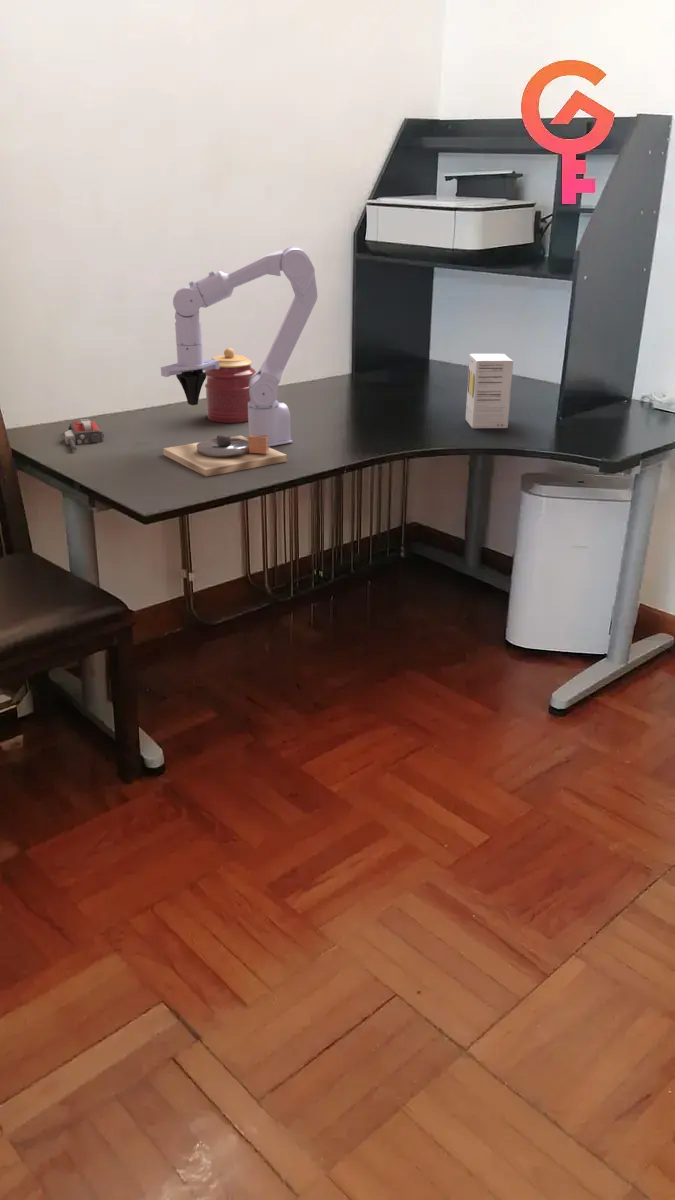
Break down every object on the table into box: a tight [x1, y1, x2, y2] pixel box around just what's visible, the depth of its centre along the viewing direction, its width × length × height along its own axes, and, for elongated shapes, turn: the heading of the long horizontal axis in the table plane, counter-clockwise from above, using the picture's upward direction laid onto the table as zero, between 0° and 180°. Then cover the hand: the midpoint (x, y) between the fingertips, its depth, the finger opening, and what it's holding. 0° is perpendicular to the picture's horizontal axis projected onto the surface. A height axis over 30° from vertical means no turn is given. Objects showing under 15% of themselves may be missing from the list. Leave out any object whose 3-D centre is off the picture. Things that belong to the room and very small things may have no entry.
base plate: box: [162, 433, 288, 478], centre depth 209 cm, size 20×20×5 cm
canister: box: [203, 347, 257, 424], centre depth 241 cm, size 13×13×18 cm
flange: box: [197, 434, 270, 457], centre depth 208 cm, size 16×12×4 cm
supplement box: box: [465, 353, 514, 429], centre depth 236 cm, size 10×9×17 cm
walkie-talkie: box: [63, 418, 105, 451], centre depth 223 cm, size 9×4×20 cm
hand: (192, 404), depth 217 cm, fingers closed
